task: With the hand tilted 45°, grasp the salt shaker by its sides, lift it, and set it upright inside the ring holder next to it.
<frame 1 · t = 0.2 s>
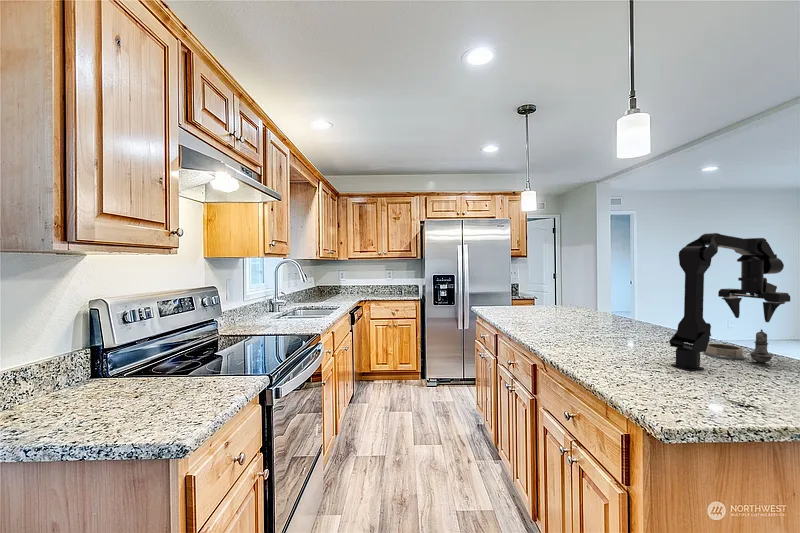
hand: (751, 320, 135), 15 cm above the countertop, tool pointing down, fingers open, 9 cm apart
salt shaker: (760, 365, 132), on the countertop
ring holder: (723, 355, 144), on the countertop
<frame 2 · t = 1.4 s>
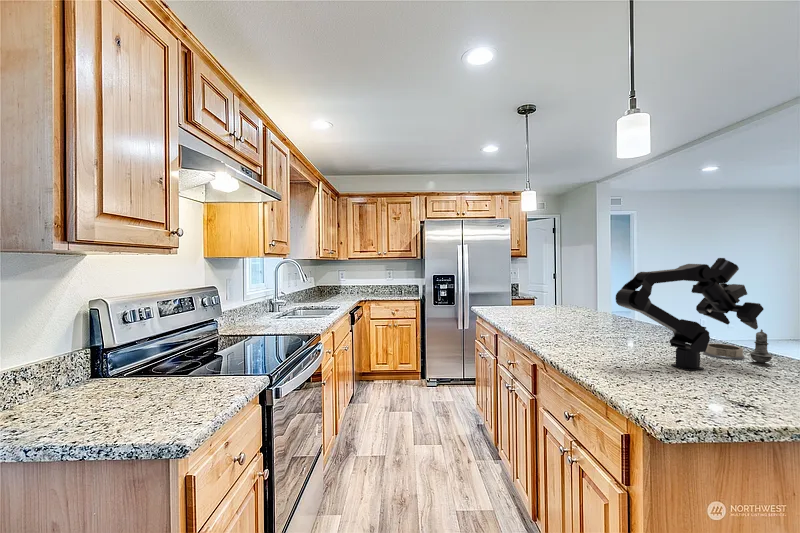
hand: (742, 325, 131), 13 cm above the countertop, tool tilted 45°, fingers open, 9 cm apart
nothing on the countertop moved.
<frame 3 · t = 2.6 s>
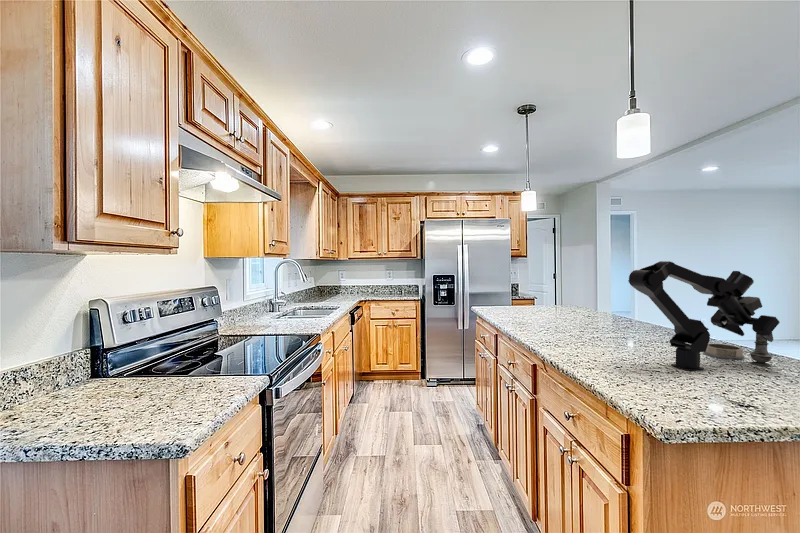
hand: (757, 338, 132), 9 cm above the countertop, tool tilted 45°, fingers open, 9 cm apart
nothing on the countertop moved.
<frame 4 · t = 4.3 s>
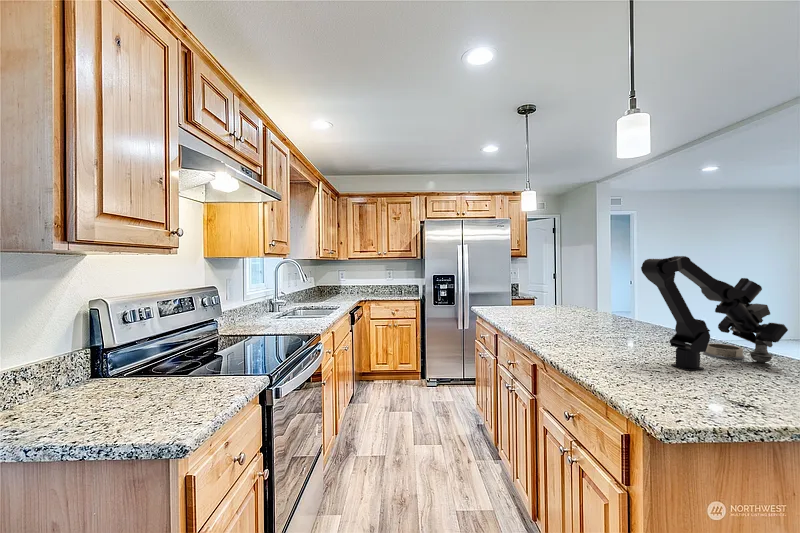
hand: (764, 345, 132), 7 cm above the countertop, tool tilted 45°, fingers closed on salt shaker, 4 cm apart
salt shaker: (760, 365, 132), on the countertop, touching gripper
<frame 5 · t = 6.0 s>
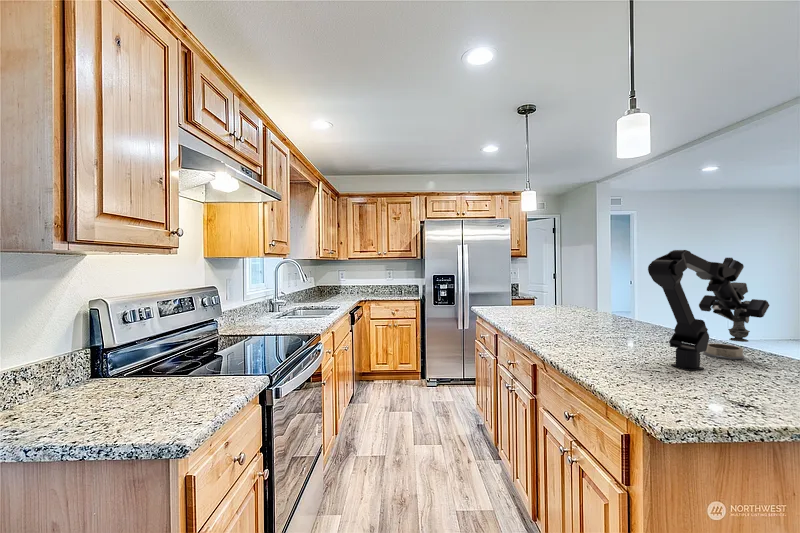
hand: (740, 321, 140), 13 cm above the countertop, tool tilted 45°, fingers closed on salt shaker, 4 cm apart
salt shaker: (738, 340, 139), point 6 cm above the countertop, touching gripper
when the fingers open (9 cm above the countertop, at t = 8.1 s): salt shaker drops 1 cm, resting on ring holder.
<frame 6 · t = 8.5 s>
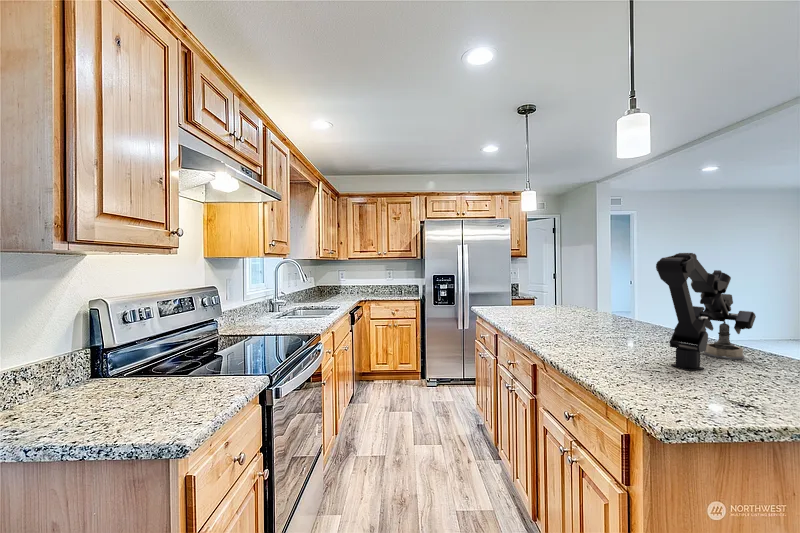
hand: (725, 331, 144), 9 cm above the countertop, tool tilted 45°, fingers open, 8 cm apart
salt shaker: (723, 354, 144), point 1 cm above the countertop, touching ring holder
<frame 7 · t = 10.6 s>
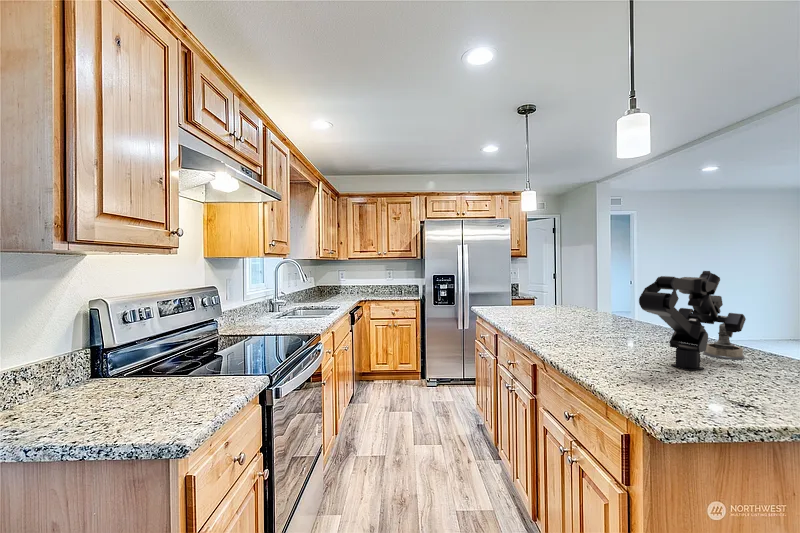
hand: (715, 334, 139), 9 cm above the countertop, tool tilted 45°, fingers open, 9 cm apart
nothing on the countertop moved.
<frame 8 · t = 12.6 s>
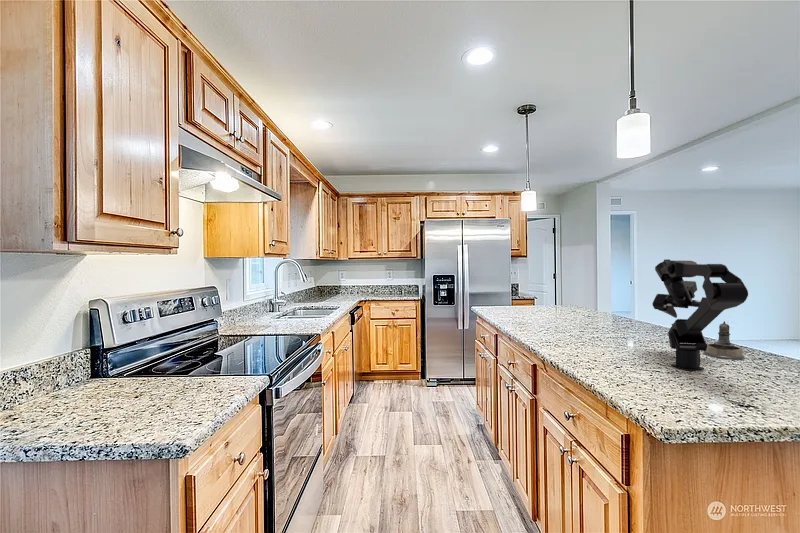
hand: (690, 318, 144), 14 cm above the countertop, tool tilted 45°, fingers open, 9 cm apart
nothing on the countertop moved.
at the end: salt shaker 0.3 cm off-centre on the ring holder, point 0.6 cm above the ring holder's base; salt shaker tilted 0°; the gripper is holding nothing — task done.
